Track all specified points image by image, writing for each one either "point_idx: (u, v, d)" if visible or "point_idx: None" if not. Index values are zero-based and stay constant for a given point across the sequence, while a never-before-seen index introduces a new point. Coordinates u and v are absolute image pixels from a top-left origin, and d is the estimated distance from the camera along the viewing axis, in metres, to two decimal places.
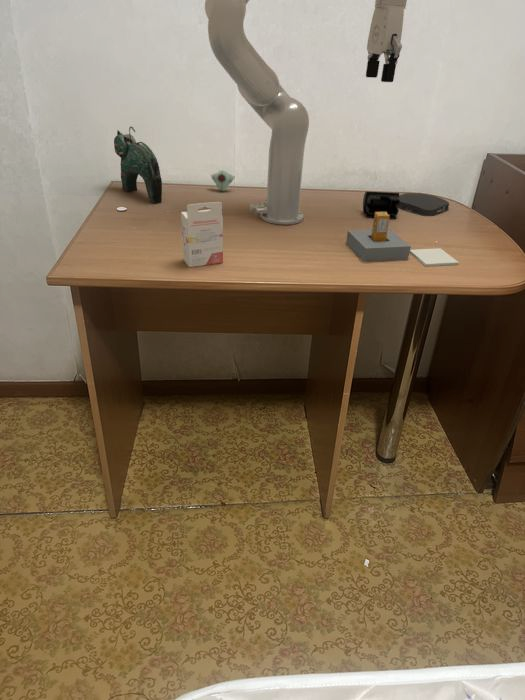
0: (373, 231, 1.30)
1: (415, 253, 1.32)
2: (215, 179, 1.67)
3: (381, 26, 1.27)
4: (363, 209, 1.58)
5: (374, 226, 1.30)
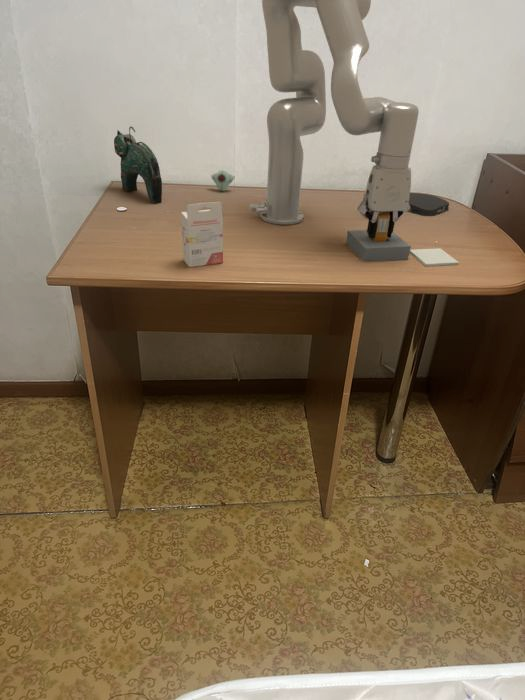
0: None
1: (415, 253, 1.32)
2: (215, 179, 1.67)
3: (403, 187, 1.22)
4: None
5: None
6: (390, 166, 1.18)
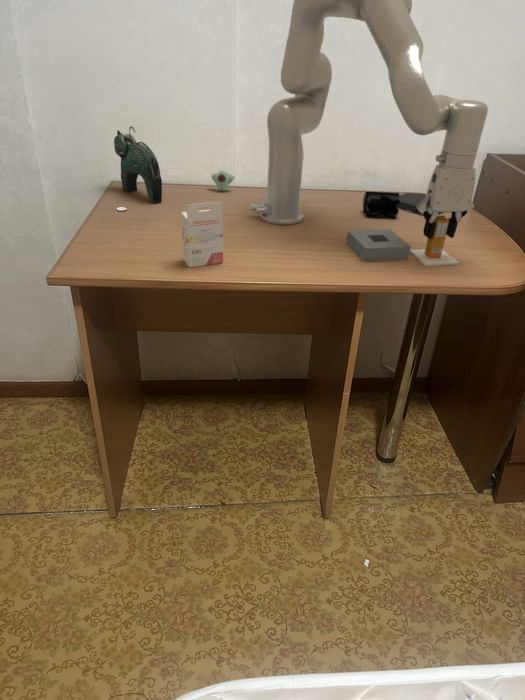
0: None
1: (415, 253, 1.32)
2: (215, 179, 1.67)
3: (467, 186, 1.20)
4: (363, 209, 1.58)
5: None
6: (456, 165, 1.15)
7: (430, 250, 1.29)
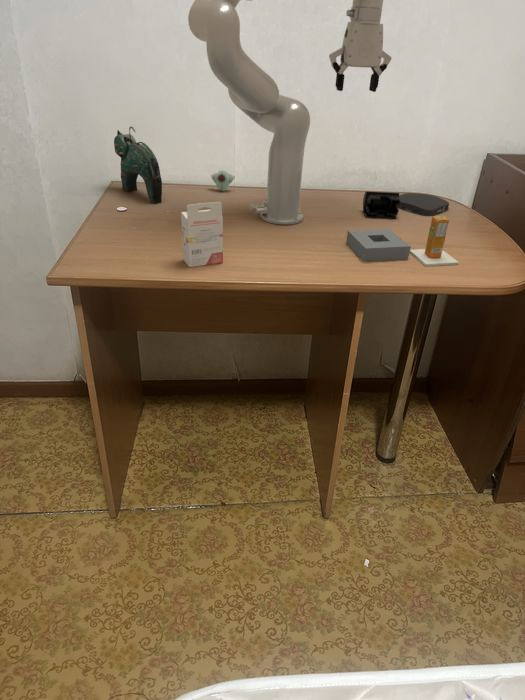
0: (431, 235, 1.28)
1: (415, 253, 1.32)
2: (215, 179, 1.67)
3: (376, 41, 1.33)
4: (363, 209, 1.58)
5: (432, 231, 1.27)
6: (363, 18, 1.29)
7: (430, 250, 1.29)
